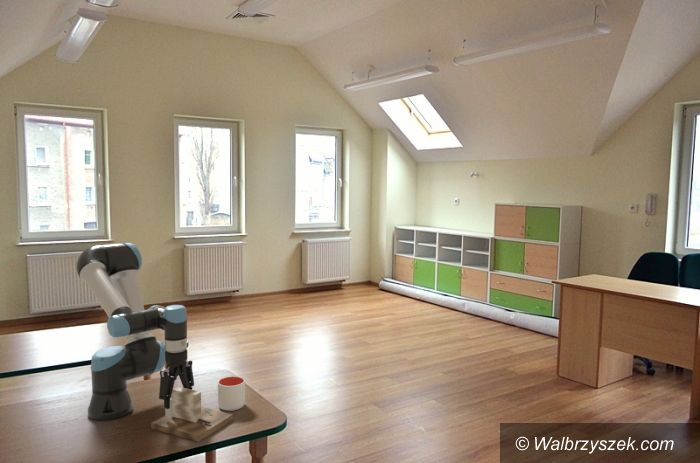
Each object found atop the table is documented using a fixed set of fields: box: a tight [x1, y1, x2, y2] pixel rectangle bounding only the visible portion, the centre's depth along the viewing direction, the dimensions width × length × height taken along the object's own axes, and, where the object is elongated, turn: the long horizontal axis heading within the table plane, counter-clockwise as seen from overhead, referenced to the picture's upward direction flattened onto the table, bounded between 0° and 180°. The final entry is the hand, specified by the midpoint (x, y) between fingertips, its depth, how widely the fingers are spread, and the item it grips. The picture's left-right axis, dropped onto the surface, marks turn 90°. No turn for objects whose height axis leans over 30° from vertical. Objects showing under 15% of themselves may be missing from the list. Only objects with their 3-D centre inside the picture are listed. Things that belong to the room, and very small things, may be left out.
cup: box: [217, 376, 246, 412], centre depth 205 cm, size 10×10×10 cm
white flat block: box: [171, 386, 211, 424], centre depth 189 cm, size 16×3×10 cm, turn 64°
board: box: [150, 406, 234, 443], centre depth 191 cm, size 21×18×2 cm
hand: (177, 411), depth 192 cm, fingers open, 8 cm apart
